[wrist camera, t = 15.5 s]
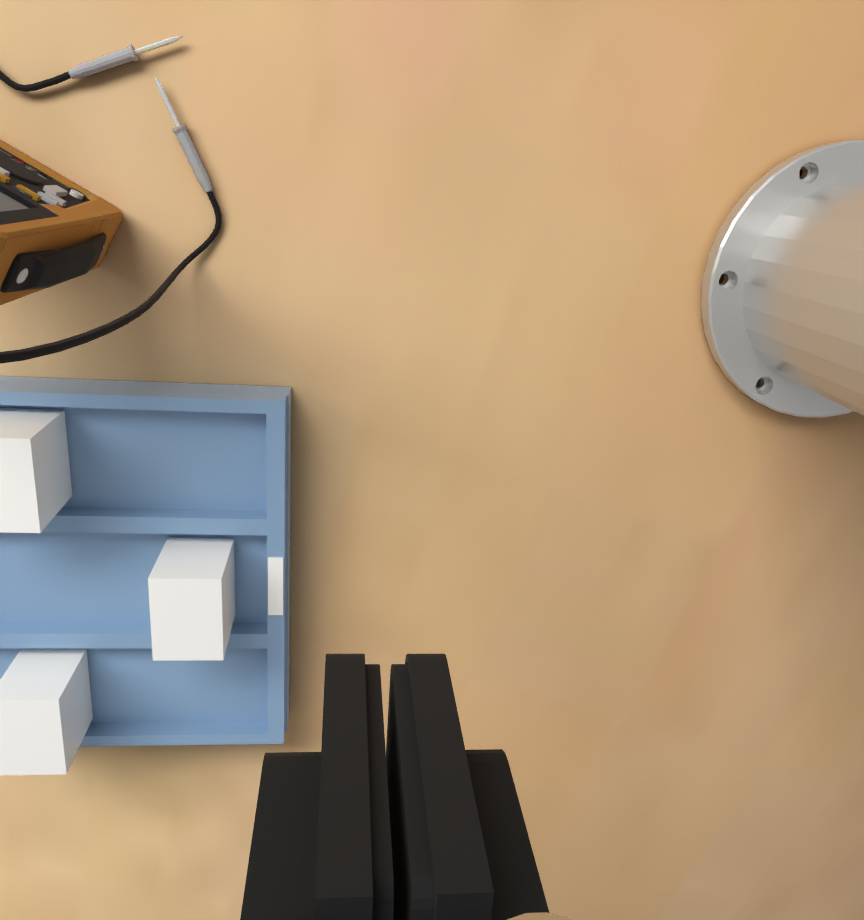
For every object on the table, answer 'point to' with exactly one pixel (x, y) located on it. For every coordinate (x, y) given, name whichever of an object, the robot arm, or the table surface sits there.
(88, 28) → the table surface
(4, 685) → the white square block
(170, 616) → the white rectangular block
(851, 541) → the table surface
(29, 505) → the white block
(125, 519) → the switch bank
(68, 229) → the multimeter
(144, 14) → the table surface
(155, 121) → the table surface
